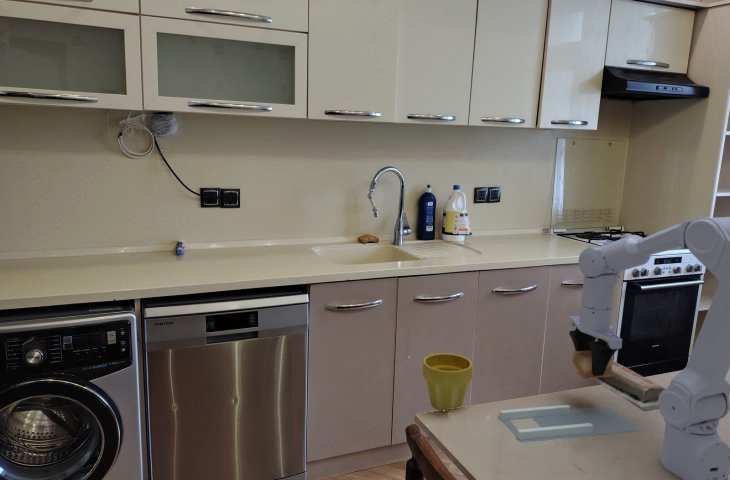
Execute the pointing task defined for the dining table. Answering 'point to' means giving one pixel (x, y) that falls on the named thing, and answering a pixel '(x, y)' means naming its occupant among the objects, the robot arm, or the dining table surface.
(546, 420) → the channel
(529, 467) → the dining table surface
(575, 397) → the dining table surface
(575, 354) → the block
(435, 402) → the plant pot
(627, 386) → the packaged product
